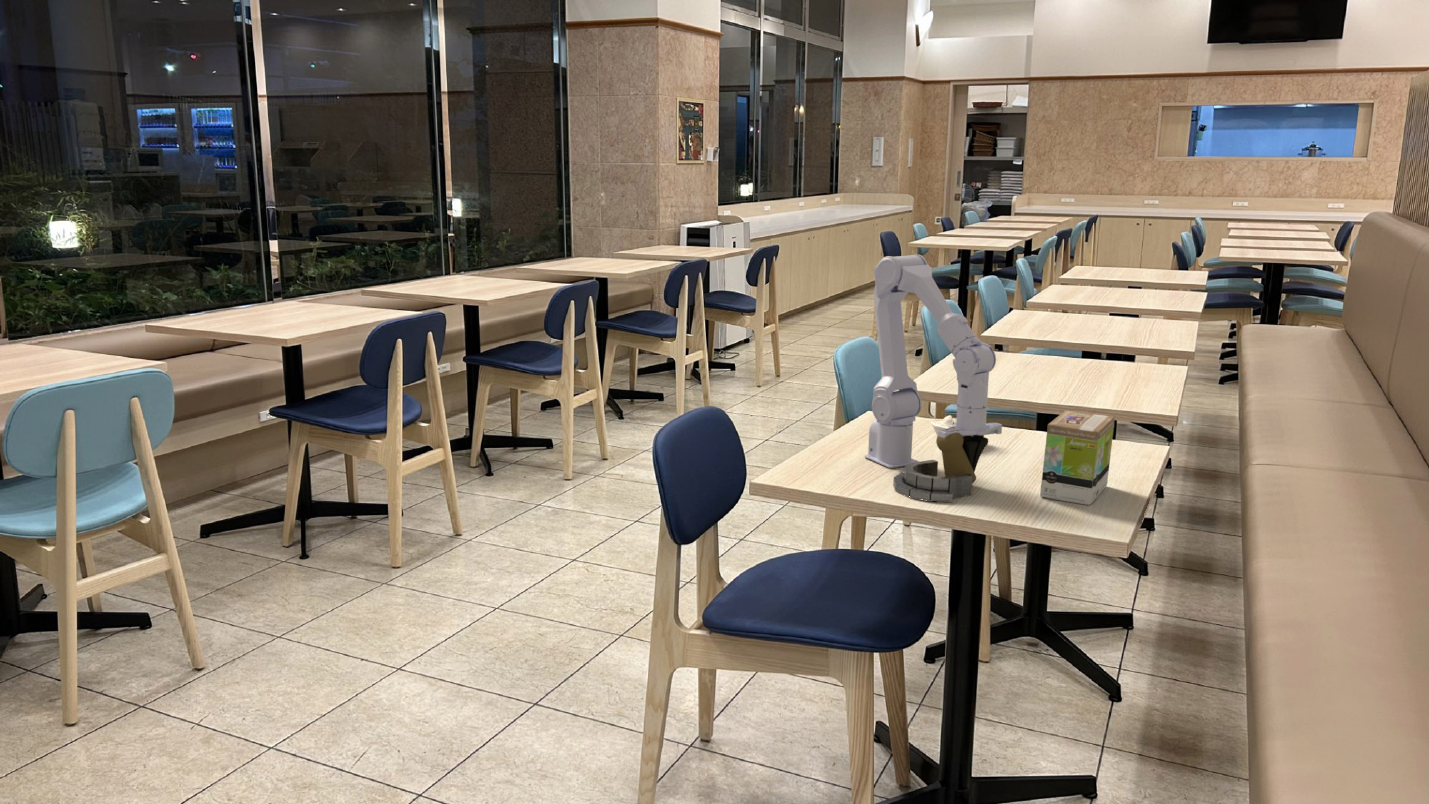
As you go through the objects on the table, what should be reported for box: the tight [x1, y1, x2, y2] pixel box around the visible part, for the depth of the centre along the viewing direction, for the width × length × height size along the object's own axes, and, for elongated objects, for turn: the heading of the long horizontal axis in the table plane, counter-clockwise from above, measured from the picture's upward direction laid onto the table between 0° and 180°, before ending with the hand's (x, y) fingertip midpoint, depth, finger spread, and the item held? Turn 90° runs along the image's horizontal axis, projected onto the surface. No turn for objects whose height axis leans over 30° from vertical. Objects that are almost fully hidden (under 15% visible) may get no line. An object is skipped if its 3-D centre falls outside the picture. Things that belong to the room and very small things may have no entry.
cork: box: [935, 429, 977, 485], centre depth 207 cm, size 6×6×11 cm
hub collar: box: [892, 459, 973, 503], centre depth 205 cm, size 16×12×4 cm
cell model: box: [930, 415, 956, 437], centre depth 239 cm, size 10×12×7 cm
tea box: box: [1039, 410, 1115, 506], centre depth 204 cm, size 15×10×15 cm, turn 149°
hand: (968, 472), depth 209 cm, fingers closed, pressing on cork
